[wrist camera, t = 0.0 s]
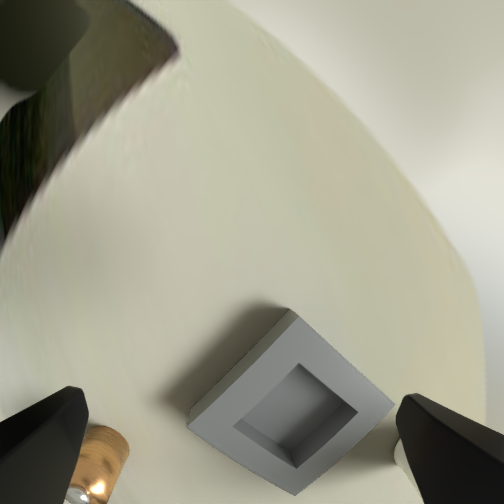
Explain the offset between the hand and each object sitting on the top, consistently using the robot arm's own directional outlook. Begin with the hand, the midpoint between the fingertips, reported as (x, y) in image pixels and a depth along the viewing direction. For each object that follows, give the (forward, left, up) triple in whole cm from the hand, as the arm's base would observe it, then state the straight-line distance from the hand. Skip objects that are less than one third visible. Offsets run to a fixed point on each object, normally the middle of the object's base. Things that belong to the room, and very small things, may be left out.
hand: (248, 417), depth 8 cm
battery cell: (-16, 0, -15) cm, 23 cm away
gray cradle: (-2, -8, -15) cm, 18 cm away
